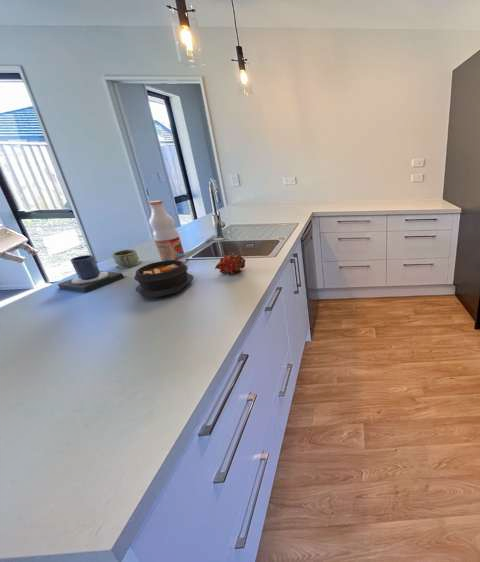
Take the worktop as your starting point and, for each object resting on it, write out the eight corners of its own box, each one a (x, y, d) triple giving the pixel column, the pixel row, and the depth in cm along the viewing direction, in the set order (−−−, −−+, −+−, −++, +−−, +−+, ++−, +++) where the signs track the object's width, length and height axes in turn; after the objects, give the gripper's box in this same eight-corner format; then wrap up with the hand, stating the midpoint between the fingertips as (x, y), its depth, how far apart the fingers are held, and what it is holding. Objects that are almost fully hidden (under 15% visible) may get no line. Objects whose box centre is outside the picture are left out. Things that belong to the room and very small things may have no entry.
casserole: (193, 295, 107) (186, 273, 104) (130, 307, 100) (120, 284, 97) (196, 271, 128) (190, 253, 124) (144, 280, 121) (136, 260, 117)
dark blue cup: (75, 279, 116) (65, 260, 112) (93, 273, 121) (84, 254, 118) (87, 280, 114) (78, 261, 111) (104, 274, 120) (96, 255, 116)
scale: (60, 289, 115) (56, 282, 113) (99, 275, 127) (96, 268, 126) (86, 292, 111) (83, 286, 110) (124, 278, 123) (121, 271, 122)
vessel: (117, 263, 139) (112, 250, 136) (140, 259, 144) (135, 246, 141) (116, 271, 130) (110, 257, 128) (141, 266, 135) (136, 253, 132)
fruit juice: (163, 262, 140) (142, 201, 128) (186, 258, 144) (168, 198, 133) (162, 268, 132) (140, 204, 121) (186, 263, 137) (168, 201, 125)
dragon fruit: (250, 273, 129) (221, 283, 124) (243, 258, 132) (215, 267, 127) (247, 262, 122) (216, 272, 117) (240, 246, 125) (209, 256, 120)
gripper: (-41, 233, 90) (21, 258, 98) (-2, 220, 107) (47, 242, 115) (-53, 250, 90) (9, 273, 98) (-13, 234, 107) (38, 255, 115)
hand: (30, 257), depth 106 cm, fingers open, 8 cm apart
